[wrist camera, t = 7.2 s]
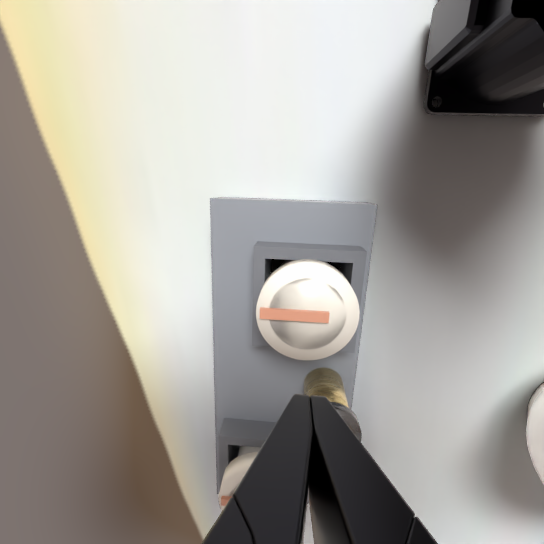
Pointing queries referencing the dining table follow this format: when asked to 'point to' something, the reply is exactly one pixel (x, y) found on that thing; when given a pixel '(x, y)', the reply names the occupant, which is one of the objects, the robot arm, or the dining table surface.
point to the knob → (236, 473)
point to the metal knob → (332, 394)
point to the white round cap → (307, 310)
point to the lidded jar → (536, 430)
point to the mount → (244, 296)
